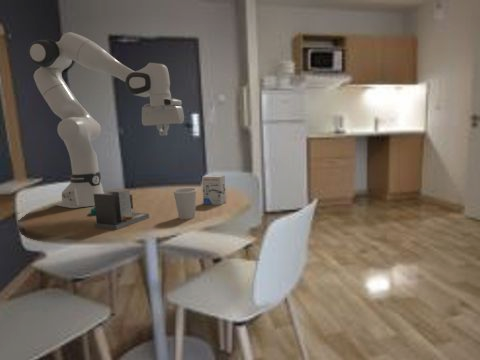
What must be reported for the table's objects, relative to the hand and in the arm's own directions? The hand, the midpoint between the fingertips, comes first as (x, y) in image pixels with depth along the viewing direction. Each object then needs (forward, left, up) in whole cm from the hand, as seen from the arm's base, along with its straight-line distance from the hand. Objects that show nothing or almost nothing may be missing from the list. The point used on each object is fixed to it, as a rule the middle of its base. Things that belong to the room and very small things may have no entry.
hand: (163, 135), depth 155 cm
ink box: (+22, +2, -29) cm, 37 cm away
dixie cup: (+24, -21, -29) cm, 43 cm away
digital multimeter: (-13, -21, -30) cm, 39 cm away
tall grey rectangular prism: (+6, -33, -27) cm, 43 cm away
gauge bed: (+5, -33, -29) cm, 44 cm away
